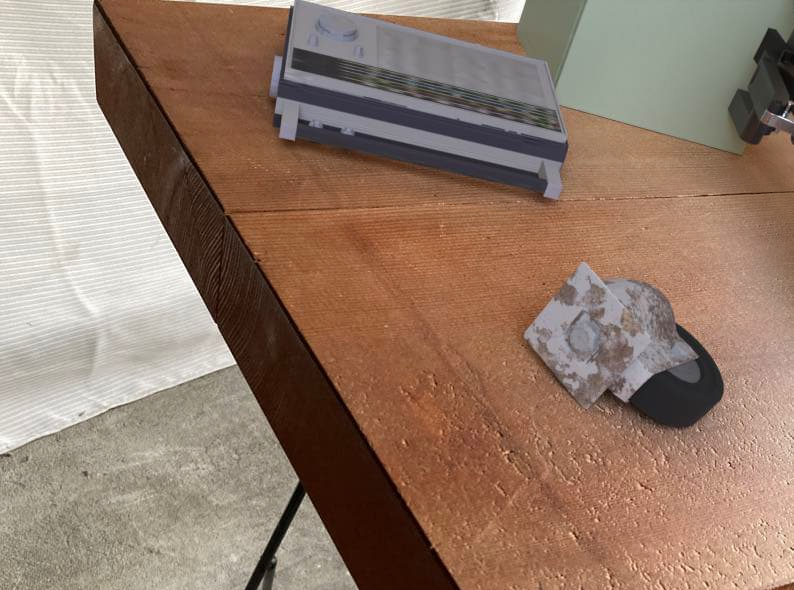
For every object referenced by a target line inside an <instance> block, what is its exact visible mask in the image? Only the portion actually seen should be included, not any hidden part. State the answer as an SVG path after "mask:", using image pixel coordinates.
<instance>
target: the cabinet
mask: <svg viewBox="0 0 794 590" xmlns="http://www.w3.org/2000/svg"><path fill="white" fill-rule="evenodd" d="M584 3H585V0H525V2H524V5H523V7H522V11H521V13H520V17H519V21H518V24H517V27H516V29H515V36H516V37H517V39H518V42H519V43H520V45H521V47H522V49H523V51H524V53H525V56H526V57H530V58H534V59H538V60H542V61H546V62H547V64H548V68H549V71H550V75H551V78H552V82H553V85H554V86H555V84H556V81H557V78H558V75H559V73H560V70H561V67H562V64H563V61H564V59H565V56H566V53H567V50H568V48H569V45H570V42H571V39H572V36H573V34H574V31H575V28H576V25H577V23H578V20H579V17H580V14H581V11H582V9H583V6H584Z"/></svg>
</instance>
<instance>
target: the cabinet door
mask: <svg viewBox="0 0 794 590" xmlns="http://www.w3.org/2000/svg"><path fill="white" fill-rule="evenodd" d="M793 3H794V0H585V3H584V6H583V9H582V11H581V14H580V17H579V20H578V23H577V25H576V28H575V31H574V34H573V36H572V39H571V42H570V45H569V48H568V50H567V53H566V56H565V59H564V61H563V64H562V67H561V70H560V73H559V75H558V78H557V81H556V84H555V86H554V88H555V92H556V95H557V99H558V102H559V105H560V107H565V108H569V109H571V110H576V111H579V112H583V113H586V114H590V115H594V116H598V117H601V118H605V119H609V120H612V121H615V122H619V123H622V124H627V125H630V126H633V127H637V128H641V129H644V130H649V131H651V132H656V133H659V134H663V135H666V136H670V137H673V138H677V139H681V140H685V141H688V142H692V143H695V144H699V145H703V146H706V147H710V148H714V149H717V150H721V151H724V152H728V153H732V154H735V155H739V156H742V155H743V153H744V151H745V149H746V147H747V145H748V144H749V145H753V146H758V145H759V144H760V143H761V141H762V139H763V137H764V136H765V135H761V134H760V133H759V132H757V131H756V127H757V125H758V123H759V119H758V116H757V113H756V110H755V108H754V105H753V102H752V99H751V96H750V93H749V91H748V88H747V86H748V84H749V82H750V80H751V78H752V76H753V74H754V72H755V70H756V68H757V64H756V62H755V60H754V59H753V58H754V56H755V54H756V52H757V50H758V48H759V46H760V44H761V42H762V40H763V38H764V36H765V34H766V32H767V30H768V28H772V29H776V30H777V31H778V33H779V34H780V35H781V37H782V38H783V40H784V41H785V42H786V44H787V45H788V47H789V48H790V49H791V51H793V52H794V13H793V12H794V9H793V8H794V4H793Z"/></svg>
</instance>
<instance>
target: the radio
mask: <svg viewBox="0 0 794 590" xmlns="http://www.w3.org/2000/svg"><path fill="white" fill-rule="evenodd" d="M269 87H270V88H269V94H268V98H269V99H273V100H275V107H274V114H273V121H272V127H275V128H279V135H278V137H279V138H280V139H285V140H291V141H294V142H295V140H296V139H299V140H304V141H308V142H313V143H317V144H322V145H326V146H331V147H335V148H339V149H344V150H349V151H353V152H358V153H362V154H367V155H371V156H375V157H378V158H379V157H380V158H384V159H387V160H393V161H398V162H401V163H405V164H406V163H407V164H411V165H416V166H420V167H425V168H429V169H433V170H437V171H442V172H446V173H452V174H455V175H460V176H464V177H469V178H474V179H477V180H483V181H486V182H490V183H496V184H499V185H504V186H508V187H514V188H517V189H523V190H528V191H531V192H536V193H540V194H542V196H543V197H544V198H550V199H553V200H558V199H559V197H560V195H561V192H562V189H563V187H564V186H563V182H562V178H561V171H562V169H563V167H564V164H565V160H566V156H567V154H568V150H569V147H570V144H569V141H568V137H569V133H568V130H567V126H566V124H565V120H564V116H563V113H562V109H561V105H559V102H558V99H557V95H556V92H555V88H554V85H553V82H552V78H551V75H550V71H549V68H548V64H547V62H546V61H542V60H538V59H534V58H530V57H527V55H521V54H518V53H514V52H510V51H506V50H503V49H499V48H494V47H490V46H487V45H482V44H478V43H474V42H470V41H467V40H462V39H459V38H454V37H450V36H448V35H447V36H446V35H442V34H439V33H435V32H431V31H426V30H423V29H418V28H415V27H411V26H406V25H403V24H398V23H395V22H390V21H387V20H383V19H378V18H375V17H370V16H367V15H363V14H358V13H355V12H351V11H346V10H343V9H338V8H335V7H331V6H326V5H322V4H320V3H316V2H315V3H314V2H310V1H306V0H294V1H293V5H290V6H289V13H288V19H287V25H286V32H285V38H284V44H283V51H282V56H281V55H276V54H275V55H274V61H273V67H272V74H271V81H270V86H269Z"/></svg>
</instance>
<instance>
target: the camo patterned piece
mask: <svg viewBox="0 0 794 590" xmlns="http://www.w3.org/2000/svg"><path fill="white" fill-rule="evenodd" d="M523 338H524V339H525V341H526V342H527V343H528V344H529V346H530V347H531V348H532V349H533V351H534V352H535V353H536V354H537V355H538V356H539V358H540V359H541V360H542V361H543V362H544V363H545V365H546V366H547V367H548V368H549V369H550V371H551V372H552V374H554V376H555V377H556V378H557V379H558V380H559V381H560V383H561V384H562V385H563V387H564V388H565V389H566V390H567V391H568V393H570V395H571V396H572V397H573V398H574V400H575V401H576V402H577V404H578V405H579V406H580V407H581V409H584V410H588V409H589V408H590V407H591V406H592V405H593V404H594V403H595V402H596V401H597V400H598V398H599V397H601V395H602V394H603V393H605V391H606V390H607V389H608V390H609V391H610V392H611V393H612V394H613V395H614V396H616V397H617V398H619V399H620V401H622V402H624V403H625V404H628V403H631V404H632V405H633V406H634V407H636V409H638V410H639V411H641V412H642V413H644V414H645V415H647V417H650V418H651V419H653V420H655V422H658V423H661V424H664V425H666V426H669V427H673V428H682V429H683V428H691V427H692V426H695V425H696V424H697V423H698V422H699V421H700V420H701V419H703V417H705V416H706V415H707V414H708V413H709V412H710V411H711V410H712V409H714V408H715V406H716V405H718V403H720V401H721V400H722V399H723V396H724V393H725V383H724V380H723V376H722V373H721V371H720V369H719V367H718V365H717V363H716V362H715V360H714V358H713V357H712V355H711V354H710V353H709V351H708V350H707V349H706V347H704V346H703V344H702V343H701V342H700V341H699V340H698V339H697V338H696V337H695V336H693V334H691V333H690V332H689V331H688V330H687V329H686V328H684V327H683V326H682V325H681V324H679V323H677V322H676V318H675V312H674V309H673V307H672V303H671V302H670V300H669V298H668V297H667V296H666V295H665V293H663V292H662V291H661V290H660V289H658V288H657V287H655V286H653V285H652V284H650V283H647V282H645V281H642V280H638V279H635V278H634V279H633V278H627V277H626V278H624V277H613V278H604V279H601V278H600V277H599V275H597V273H596V272H595V271H594V270H593V268H592V267H590V265H589V264H588V263H587V262H584V261H581V262H580V263H579V265H578V266H577V267H576V269H575V270H574V271H573V272H572V273H571V275H570V276H569V277H568V278H567V280H565V282H564V283H563V284H562V286H560V288H559V289H558V290H557V292H556V293H555V294H554V295H553V297H552V298H551V299H550V300H549V302H548V303H546V305H545V306H544V308H543V309H542V310H541V311H540V313H539V314H538V315H537V316H536V317H535V319H534V320H533V321H532V322H531V323H530V325H529V326H528V327H527V328H526V330H525V331H524V334H523Z"/></svg>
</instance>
